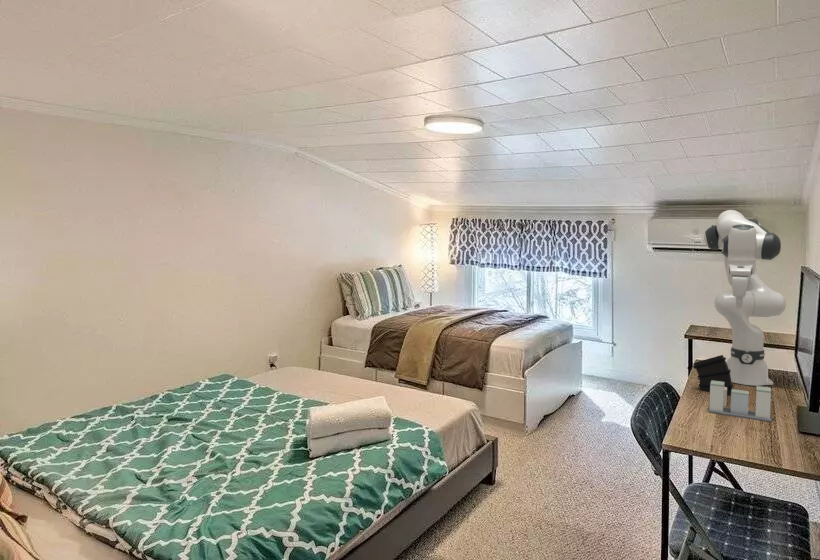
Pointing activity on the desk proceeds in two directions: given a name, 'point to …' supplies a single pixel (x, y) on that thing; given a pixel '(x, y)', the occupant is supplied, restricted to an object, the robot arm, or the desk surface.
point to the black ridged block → (713, 373)
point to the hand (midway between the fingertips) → (739, 306)
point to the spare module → (725, 395)
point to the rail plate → (750, 414)
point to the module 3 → (763, 402)
